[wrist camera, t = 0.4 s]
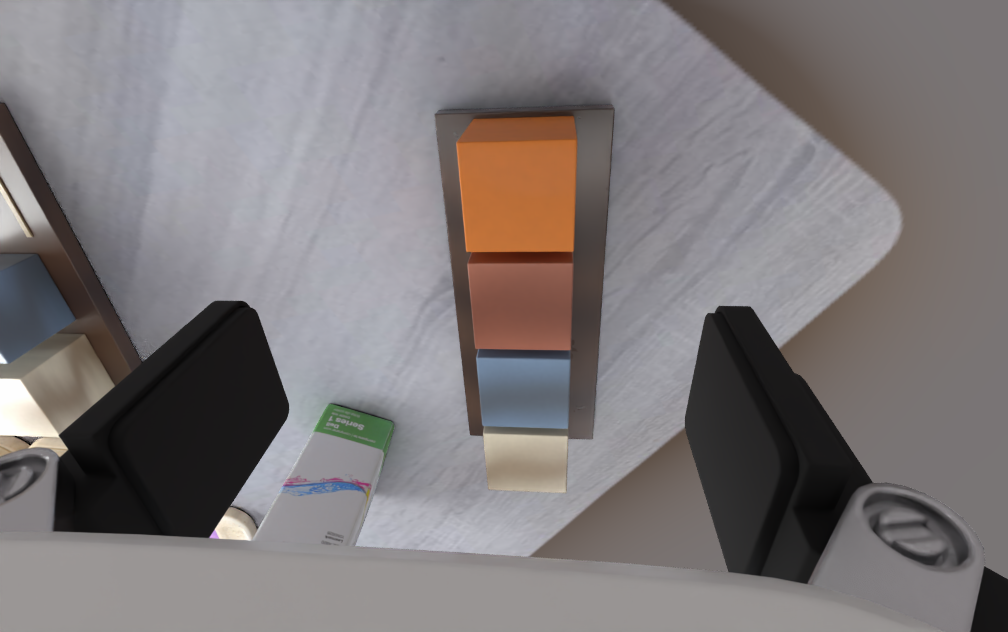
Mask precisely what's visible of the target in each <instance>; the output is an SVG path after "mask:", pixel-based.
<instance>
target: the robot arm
mask: <svg viewBox="0 0 1008 632" xmlns="http://www.w3.org/2000/svg"><path fill="white" fill-rule="evenodd" d="M288 414H289V403H288V400H287V397H286V394H285V391H284V388H283V385H282V382H281V379H280V377H279V374H278V371H277V368H276V365H275V362H274V359H273V356H272V353H271V351H270V348H269V345H268V342H267V339H266V336H265V333H264V330H263V328H262V325H261V322H260V319H259V316H258V314H257V312H256V310H255V309H253V308H250V306H249V305H248V304H247V303H246V302H244V301H214V302H213V303H211V304H210V305H209V306H208V307H206V308H205V309H204V310H203V311H202V312H201V313H199V314H198V315H197V316H196V317H195V318H194V319H192V320H191V321H190V322H189V323H188V324H187V325H185V326H184V327H183V328H182V329H181V330H180V331H179V332H177V333H176V334H175V335H174V336H173V337H172V338H170V339H169V340H168V341H167V342H166V343H165V344H163V345H162V346H161V347H160V348H159V349H158V350H156V351H155V352H154V353H153V354H152V355H151V356H150V357H148V358H147V359H146V360H145V361H144V362H143V363H141V364H140V365H139V366H138V367H137V368H136V369H134V370H133V371H132V372H131V373H130V374H129V375H128V376H126V377H125V378H124V379H123V380H122V381H121V382H119V383H118V384H117V385H116V386H115V387H114V388H112V389H111V390H110V391H109V392H108V393H107V394H105V395H104V396H103V397H102V398H101V399H100V400H99V401H97V402H96V403H95V404H94V405H93V406H92V407H90V408H89V409H88V410H87V411H86V412H85V413H83V414H82V415H81V416H80V417H79V418H78V419H76V420H75V421H74V422H73V423H72V424H71V425H70V426H68V427H67V428H66V429H65V430H64V431H63V432H61V433H60V434H59V435H58V436H59V437H60V438H61V440H62V441H63V443H64V444H65V446H66V447H67V449H68V450H67V451H66V452H65V453H64V454H63V455H62V456H61V457H59V456H58V454H57V453H56V452H54V451H53V450H51V449H50V448H42V447H35V448H27V449H22V450H18V451H15V452H11V453H8V454H5V455H3V456H0V632H1008V579H1006V578H1004V577H1003V576H1001V575H999V574H997V573H995V572H994V571H992V570H990V569H988V568H986V567H985V566H984V565H985V555H984V548H983V546H982V544H981V542H980V540H979V538H978V536H977V534H976V533H975V532H974V530H973V529H972V528H971V527H970V526H969V525H968V524H967V523H966V521H965V520H964V519H963V518H962V517H961V516H959V515H958V514H957V513H955V512H954V511H953V510H952V509H950V508H949V507H948V506H946V505H945V504H943V503H941V502H940V501H938V500H936V499H934V498H932V497H931V496H929V495H927V494H925V493H922V492H919V491H917V490H914V489H912V488H909V487H906V486H902V485H897V484H891V483H873V482H872V481H871V479H870V478H869V476H868V475H867V473H866V471H865V470H864V468H863V467H862V465H861V464H860V462H859V461H858V460H857V458H856V457H855V455H854V453H853V452H852V451H851V449H850V447H849V446H848V444H847V443H846V441H845V440H844V438H843V437H842V436H841V434H840V432H839V431H838V429H837V428H836V426H835V425H834V423H833V422H832V420H831V419H830V418H829V416H828V414H827V413H826V411H825V410H824V408H823V407H822V405H821V404H820V402H819V401H818V399H817V398H816V396H815V395H814V394H813V392H812V390H811V389H810V387H809V386H808V384H807V383H806V381H805V380H804V379H803V378H802V377H801V376H800V375H798V374H795V373H794V372H793V371H792V369H791V367H790V366H789V364H788V363H787V361H786V360H785V358H784V357H783V355H782V354H781V352H780V350H779V349H778V347H777V346H776V344H775V343H774V341H773V340H772V338H771V337H770V335H769V334H768V332H767V330H766V329H765V327H764V326H763V324H762V323H761V321H760V320H759V318H758V317H757V315H756V313H755V312H754V310H753V309H752V308H751V307H748V306H719V307H718V308H717V309H716V311H715V313H708V314H707V315H706V317H705V321H704V325H703V330H702V335H701V340H700V345H699V350H698V355H697V360H696V365H695V370H694V375H693V380H692V385H691V390H690V395H689V400H688V405H687V410H686V415H685V428H686V434H687V437H688V440H689V444H690V447H691V450H692V453H693V457H694V460H695V463H696V467H697V470H698V473H699V476H700V480H701V483H702V486H703V490H704V493H705V496H706V499H707V503H708V506H709V509H710V512H711V516H712V519H713V522H714V526H715V529H716V532H717V535H718V539H719V542H720V545H721V549H722V552H723V555H724V559H725V562H726V565H727V568H728V572H723V571H713V570H700V569H688V568H676V567H664V566H650V565H638V564H626V563H613V562H599V561H583V560H568V559H552V558H536V557H521V556H506V555H490V554H475V553H459V552H443V551H426V550H409V549H393V548H376V547H359V546H342V545H324V544H307V543H290V542H272V541H253V540H234V539H216V538H210V536H211V534H212V533H213V531H214V530H215V528H216V527H217V525H218V524H219V522H220V521H221V519H222V518H223V516H224V515H225V513H226V511H227V510H228V508H229V507H230V505H231V504H232V502H233V501H234V499H235V498H236V496H237V495H238V493H239V491H240V490H241V488H242V487H243V485H244V484H245V482H246V481H247V479H248V478H249V476H250V475H251V473H252V472H253V470H254V468H255V467H256V465H257V464H258V462H259V461H260V459H261V458H262V456H263V455H264V453H265V452H266V450H267V449H268V447H269V445H270V444H271V442H272V441H273V439H274V438H275V436H276V435H277V433H278V432H279V430H280V429H281V427H282V426H283V424H284V422H285V421H286V419H287V417H288Z"/></svg>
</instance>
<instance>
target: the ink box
mask: <svg viewBox="0 0 1008 632" xmlns="http://www.w3.org/2000/svg"><path fill="white" fill-rule="evenodd" d="M393 430H394V424H393V423H392V422H391V421H388V420H384V419H381V418H378V417H374V416H371V415H368V414H364V413H361V412H357V411H354V410H351V409H347V408H344V407H340V406H336V405H333V404H329V405H328V406H327V407H326V409H325V411H324V413H323V414H322V416H321V418H320V420H319V422H318V423H317V425H316V427H315V429H314V431H313V432H312V434H311V436H310V438H309V440H308V441H307V443H306V445H305V447H304V449H303V451H302V452H301V454H300V456H299V458H298V459H297V461H296V463H295V465H294V466H293V468H292V470H291V472H290V474H289V476H288V477H287V479H286V481H285V483H284V484H283V486H282V488H281V490H280V492H279V493H278V495H277V497H276V499H275V500H274V502H273V504H272V505H271V507H270V509H269V511H268V513H267V514H266V516H265V518H264V519H263V521H262V523H261V525H260V526H259V528H258V530H257V532H256V534H255V535H254V537H253V539H252V540H253V541H272V542H290V543H307V544H324V545H342V546H355V545H356V542H357V539H358V537H359V534H360V531H361V529H362V526H363V523H364V521H365V518H366V515H367V512H368V510H369V507H370V504H371V501H372V499H373V496H374V493H375V490H376V487H377V483H378V480H379V477H380V473H381V470H382V467H383V463H384V460H385V457H386V454H387V450H388V447H389V443H390V440H391V437H392V433H393Z"/></svg>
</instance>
